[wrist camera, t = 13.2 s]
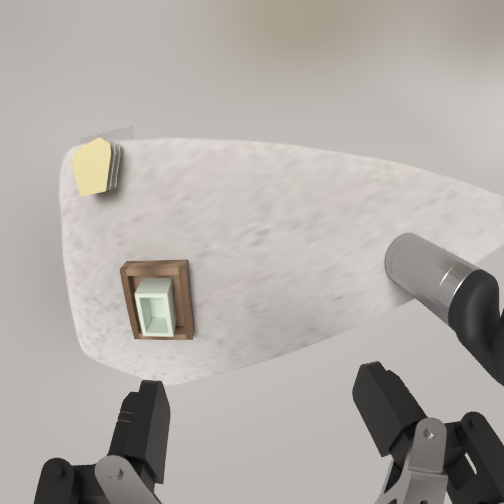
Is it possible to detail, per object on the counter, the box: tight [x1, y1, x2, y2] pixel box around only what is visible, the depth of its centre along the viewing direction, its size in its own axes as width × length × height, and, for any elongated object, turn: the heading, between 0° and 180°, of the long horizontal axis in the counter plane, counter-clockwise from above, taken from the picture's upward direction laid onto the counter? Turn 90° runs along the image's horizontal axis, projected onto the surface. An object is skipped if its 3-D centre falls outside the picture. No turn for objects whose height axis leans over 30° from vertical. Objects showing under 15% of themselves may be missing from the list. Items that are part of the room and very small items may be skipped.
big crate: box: [120, 260, 194, 340], centre depth 40 cm, size 10×12×3 cm
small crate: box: [135, 278, 177, 337], centre depth 38 cm, size 5×7×5 cm, turn 179°
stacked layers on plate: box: [72, 126, 134, 196], centre depth 31 cm, size 10×9×6 cm
